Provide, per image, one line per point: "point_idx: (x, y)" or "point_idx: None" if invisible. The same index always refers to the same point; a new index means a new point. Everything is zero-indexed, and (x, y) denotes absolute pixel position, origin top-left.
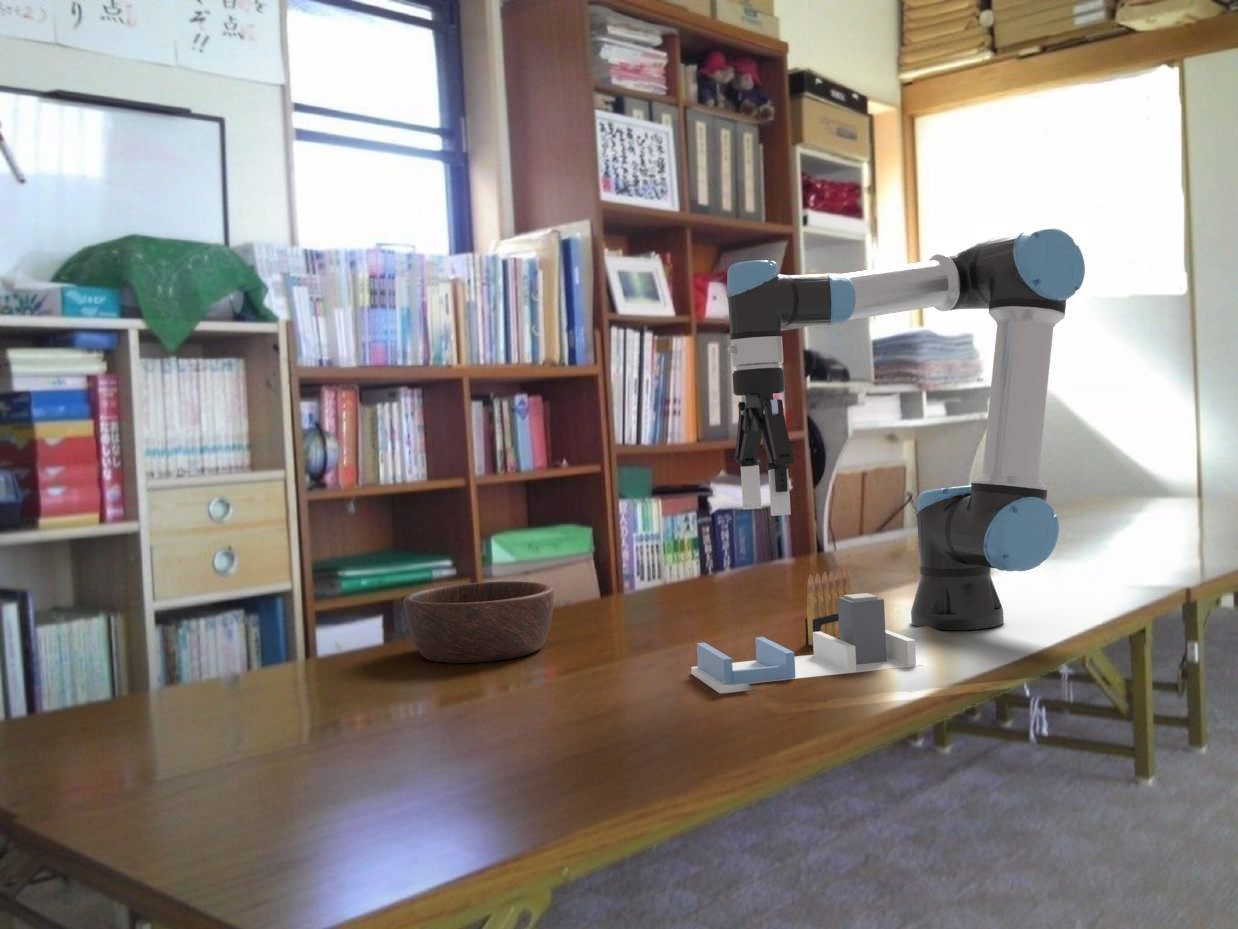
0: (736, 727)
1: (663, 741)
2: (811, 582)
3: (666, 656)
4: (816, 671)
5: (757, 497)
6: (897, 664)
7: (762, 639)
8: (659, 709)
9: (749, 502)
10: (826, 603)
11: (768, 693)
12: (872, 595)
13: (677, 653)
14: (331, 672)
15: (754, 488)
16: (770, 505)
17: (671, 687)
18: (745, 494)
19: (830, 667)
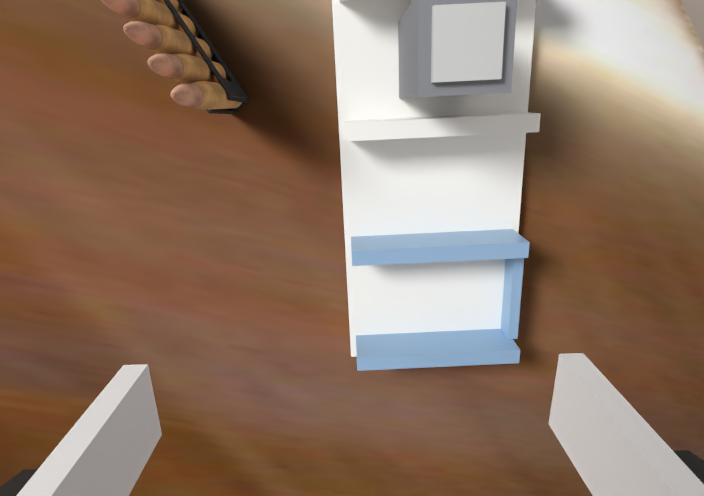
0: (693, 366)
1: (699, 449)
2: (191, 96)
3: (192, 357)
4: (486, 180)
5: (127, 415)
6: None
7: (377, 259)
8: (548, 428)
9: (145, 435)
10: (179, 44)
11: (539, 280)
12: (485, 8)
13: (171, 336)
14: None
15: (102, 466)
16: (570, 457)
17: (429, 392)
18: (126, 484)
19: (467, 146)
